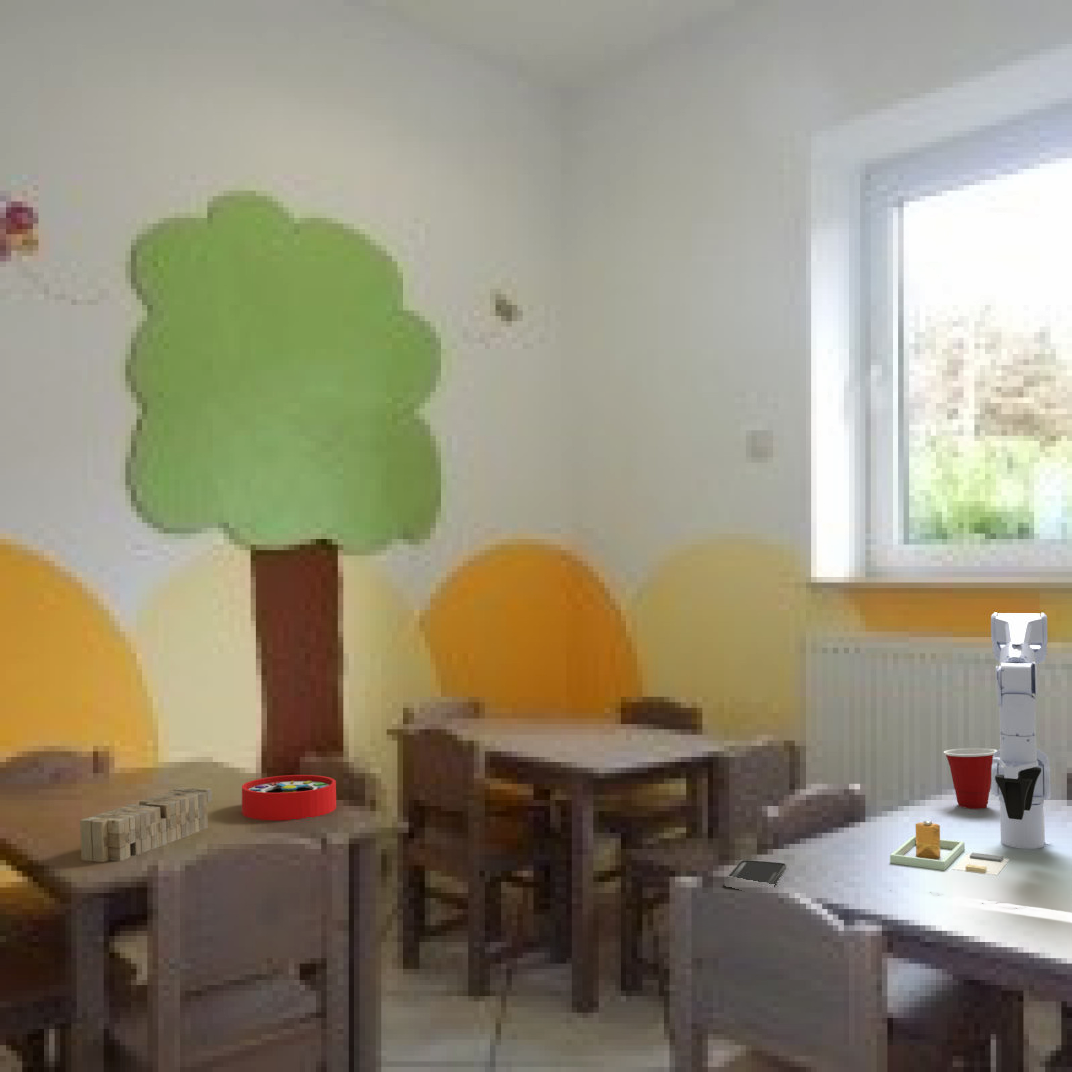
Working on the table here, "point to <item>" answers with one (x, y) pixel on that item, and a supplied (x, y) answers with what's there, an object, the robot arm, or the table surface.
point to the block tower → (144, 825)
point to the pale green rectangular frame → (923, 862)
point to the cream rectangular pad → (982, 863)
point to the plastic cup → (971, 775)
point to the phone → (759, 871)
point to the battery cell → (928, 840)
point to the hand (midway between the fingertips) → (1019, 814)
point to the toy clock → (288, 797)
